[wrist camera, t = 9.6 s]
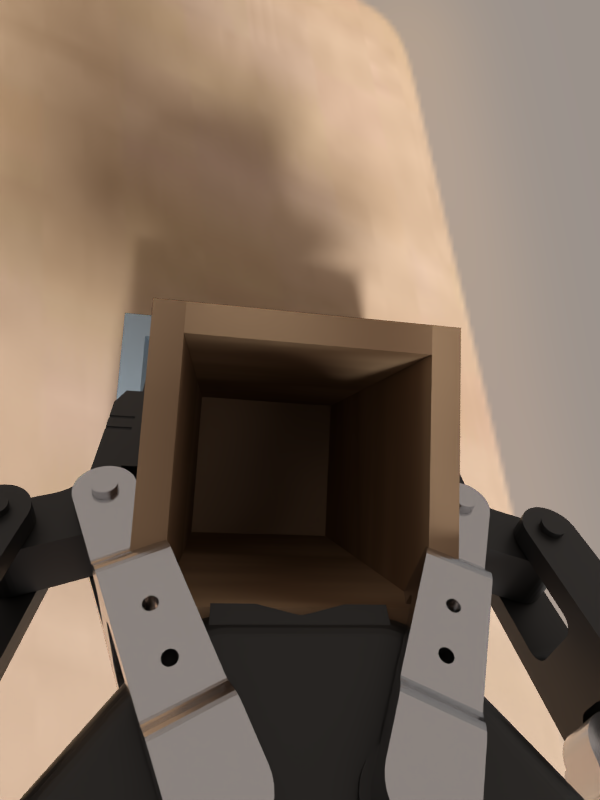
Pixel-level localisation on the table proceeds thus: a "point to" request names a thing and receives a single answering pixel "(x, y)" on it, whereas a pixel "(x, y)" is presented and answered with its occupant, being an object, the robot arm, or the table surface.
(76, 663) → the table surface
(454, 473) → the walnut crate
